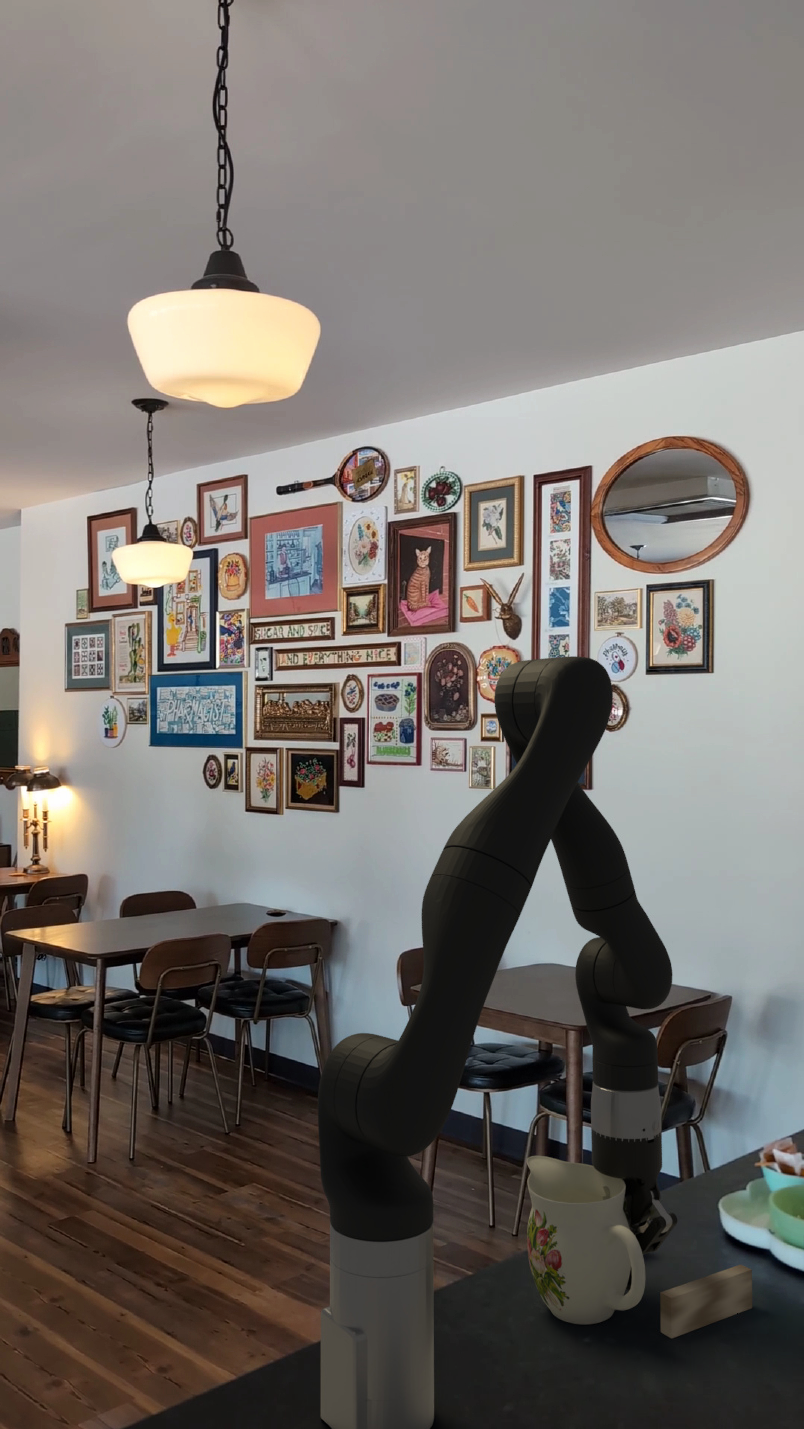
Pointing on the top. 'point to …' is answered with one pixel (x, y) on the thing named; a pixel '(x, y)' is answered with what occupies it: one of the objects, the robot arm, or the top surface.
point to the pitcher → (581, 1242)
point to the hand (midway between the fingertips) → (629, 1285)
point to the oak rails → (705, 1300)
